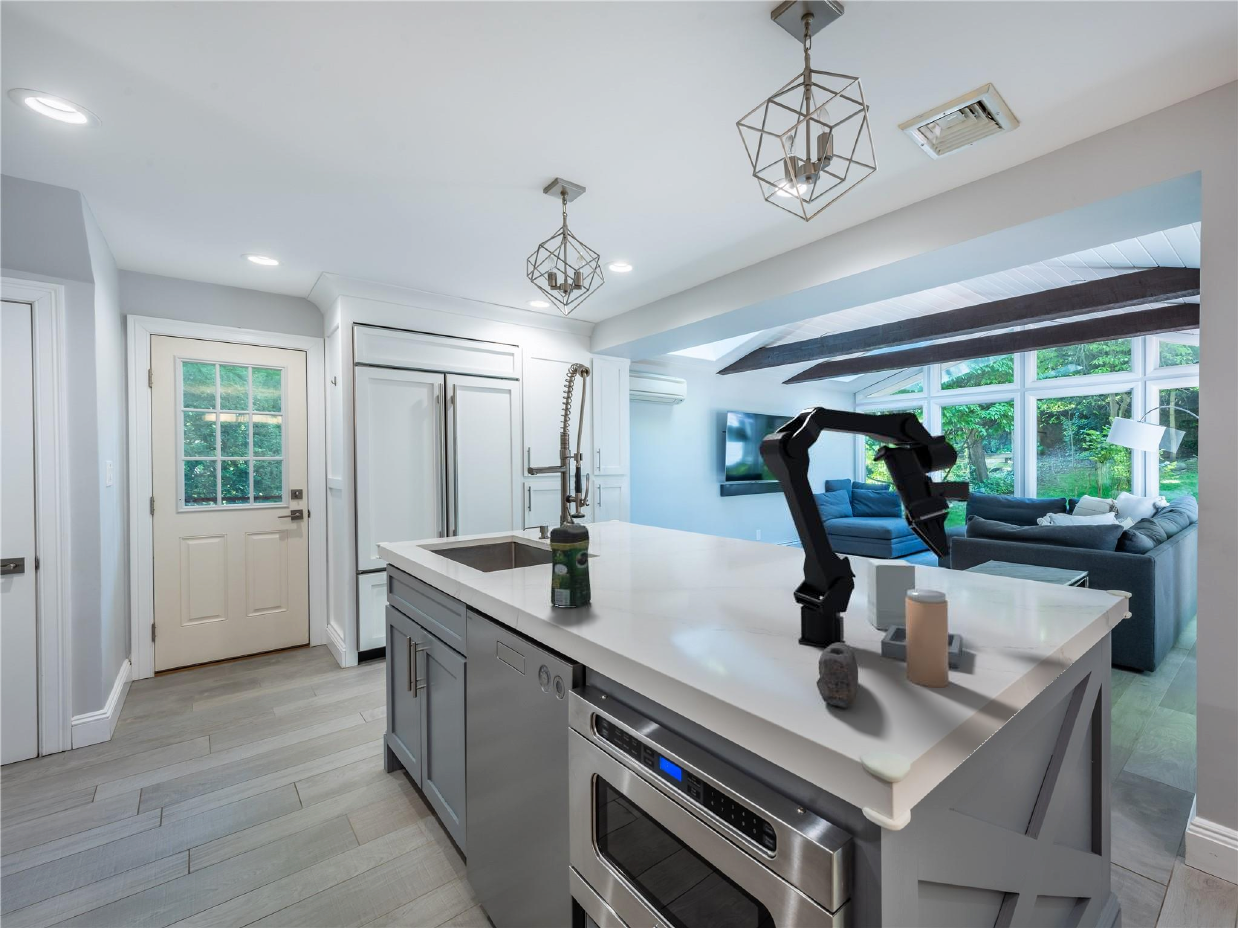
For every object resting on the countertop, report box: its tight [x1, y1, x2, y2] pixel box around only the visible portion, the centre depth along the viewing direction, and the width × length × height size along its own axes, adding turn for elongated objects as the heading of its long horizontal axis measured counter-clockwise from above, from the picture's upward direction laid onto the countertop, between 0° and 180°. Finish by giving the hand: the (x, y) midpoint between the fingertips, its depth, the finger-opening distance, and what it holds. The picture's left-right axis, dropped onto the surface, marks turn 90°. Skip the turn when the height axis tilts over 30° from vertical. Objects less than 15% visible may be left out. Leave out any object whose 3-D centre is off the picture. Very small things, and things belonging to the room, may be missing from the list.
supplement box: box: [866, 559, 916, 631], centre depth 112 cm, size 7×7×13 cm
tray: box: [880, 625, 963, 670], centre depth 95 cm, size 11×11×2 cm
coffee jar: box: [549, 524, 592, 607], centre depth 132 cm, size 10×8×19 cm
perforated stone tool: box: [816, 642, 859, 709], centre depth 79 cm, size 15×5×7 cm, turn 154°
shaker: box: [905, 588, 950, 688], centre depth 83 cm, size 6×6×13 cm
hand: (944, 556), depth 101 cm, fingers open, 9 cm apart
